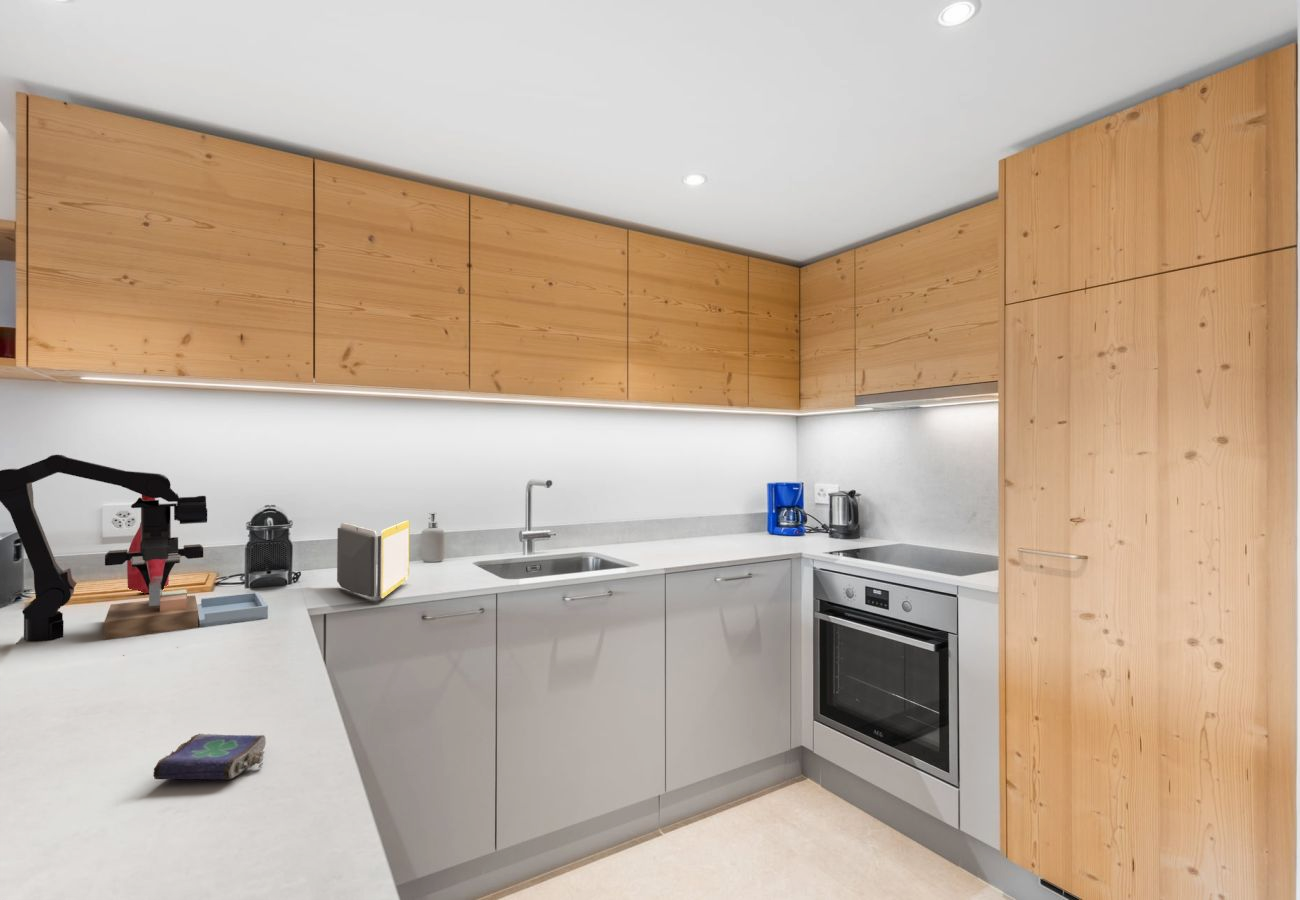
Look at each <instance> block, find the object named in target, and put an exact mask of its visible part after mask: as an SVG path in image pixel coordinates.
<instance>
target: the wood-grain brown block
mask: <svg viewBox="0 0 1300 900" xmlns="http://www.w3.org/2000/svg"><path fill="white" fill-rule="evenodd" d="M197 605H198V604H197V598H196V595H187V603H186V609H180V610H171V611H162V612H160V605H157V606H149V599H148V600H141V601H140V600H139V601H131V602H129V601H128V602H122V603H121V602H120V603H112V604H110V605H109V607H108V608H109V609H108V611H107V613H106V617H105V619H104V622H103V624H104V628H103V629H104V630H103V631H104V632H103V633H104V634H103V637H104V638H103V639H104V641H105V640H113V639H120V638H121V639H122V638H130V637H136V636H145V635H151V634H159V633H166V632H175V631H181V630H187V629H195V628H196V629H198V628H199V621H198V607H197Z"/></svg>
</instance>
